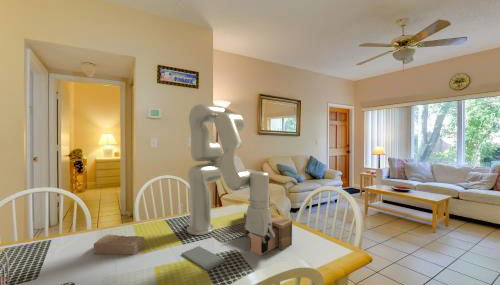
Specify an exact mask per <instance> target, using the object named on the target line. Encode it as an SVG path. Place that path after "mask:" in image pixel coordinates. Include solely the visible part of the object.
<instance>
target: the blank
mask: <svg viewBox="0 0 500 285" xmlns="http://www.w3.org/2000/svg"><path fill="white" fill-rule="evenodd" d="M272 230H273V232H274V234H275V237H273V238H272V239H271V240H269V241H268V251H266V252H265V253H267V252H269V251H271V250H273V249H275V248H277V247H279V228H277V227H274V226H272ZM268 234H269V233H268ZM269 236H270V234H269ZM265 239H266V236H265ZM262 242H263V240H262V236H260V235H257V234H254V233H251V248H250V252H252V253H253V254H256V255H258V256H262V255H264V254H265V253H262Z"/></svg>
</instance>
